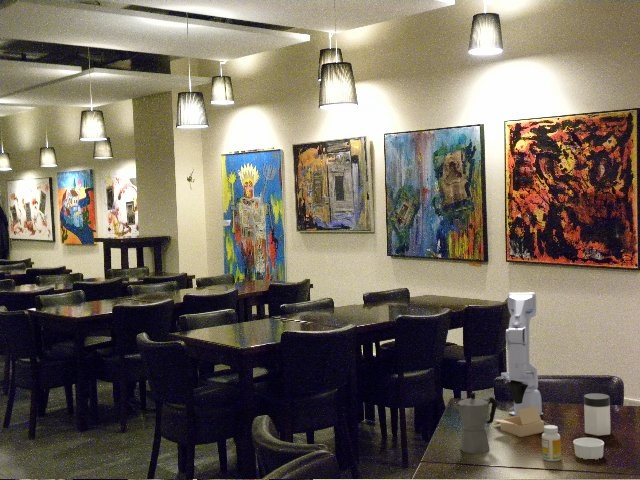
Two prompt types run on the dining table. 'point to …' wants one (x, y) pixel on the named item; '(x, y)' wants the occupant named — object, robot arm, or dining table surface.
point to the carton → (522, 427)
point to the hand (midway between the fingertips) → (518, 403)
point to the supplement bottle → (551, 443)
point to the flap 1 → (503, 421)
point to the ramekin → (588, 448)
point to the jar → (597, 414)
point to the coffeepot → (475, 423)
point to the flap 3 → (529, 415)
